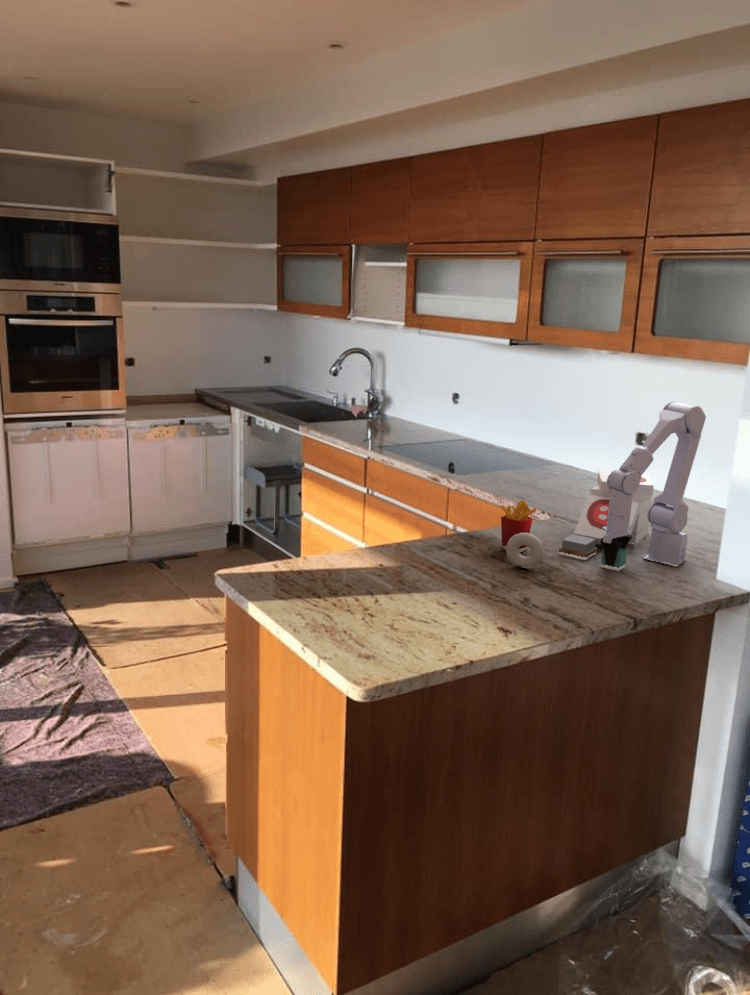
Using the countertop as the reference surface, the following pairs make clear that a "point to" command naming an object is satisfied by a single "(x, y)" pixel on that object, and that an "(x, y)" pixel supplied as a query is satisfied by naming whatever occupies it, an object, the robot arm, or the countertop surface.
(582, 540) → the tower top
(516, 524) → the french fries
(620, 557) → the teal cube
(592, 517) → the stacked pizza boxes
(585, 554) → the block
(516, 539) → the donut
